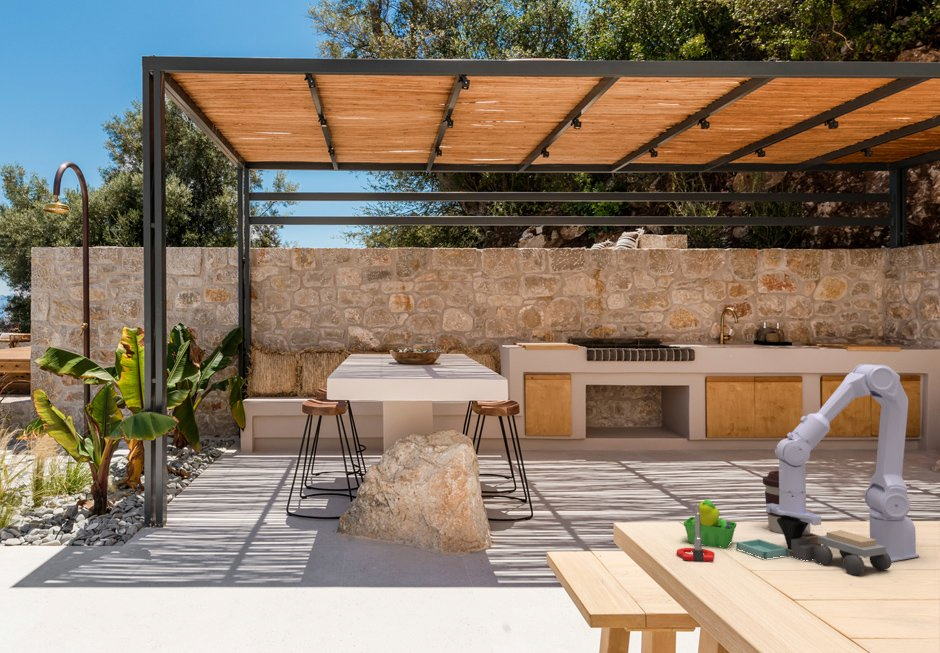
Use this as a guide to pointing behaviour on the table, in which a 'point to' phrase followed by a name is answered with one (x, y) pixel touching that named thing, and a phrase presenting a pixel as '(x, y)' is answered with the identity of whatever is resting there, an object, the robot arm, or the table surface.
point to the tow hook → (696, 545)
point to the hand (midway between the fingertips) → (793, 549)
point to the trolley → (851, 551)
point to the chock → (802, 548)
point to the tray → (762, 548)
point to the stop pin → (807, 529)
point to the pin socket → (813, 539)
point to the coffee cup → (772, 498)
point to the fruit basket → (711, 526)
